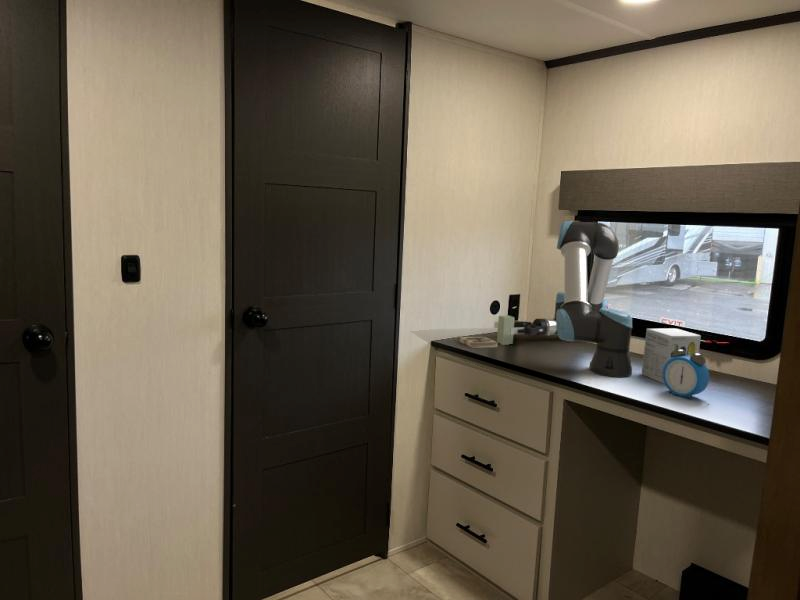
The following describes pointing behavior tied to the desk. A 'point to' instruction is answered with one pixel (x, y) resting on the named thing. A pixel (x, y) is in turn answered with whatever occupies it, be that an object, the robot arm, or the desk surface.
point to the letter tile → (478, 342)
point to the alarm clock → (686, 373)
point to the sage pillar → (505, 330)
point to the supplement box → (666, 349)
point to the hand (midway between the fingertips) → (502, 327)
